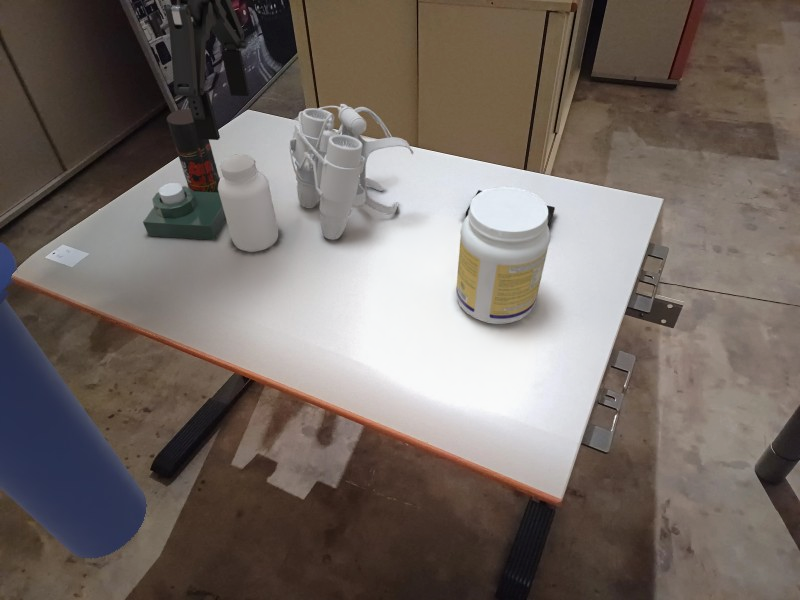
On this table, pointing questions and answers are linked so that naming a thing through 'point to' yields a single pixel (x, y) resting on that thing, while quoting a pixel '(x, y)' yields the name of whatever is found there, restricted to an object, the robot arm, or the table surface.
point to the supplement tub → (502, 254)
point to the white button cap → (172, 193)
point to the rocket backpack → (336, 164)
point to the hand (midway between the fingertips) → (225, 115)
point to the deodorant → (193, 153)
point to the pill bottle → (247, 204)
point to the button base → (187, 216)
